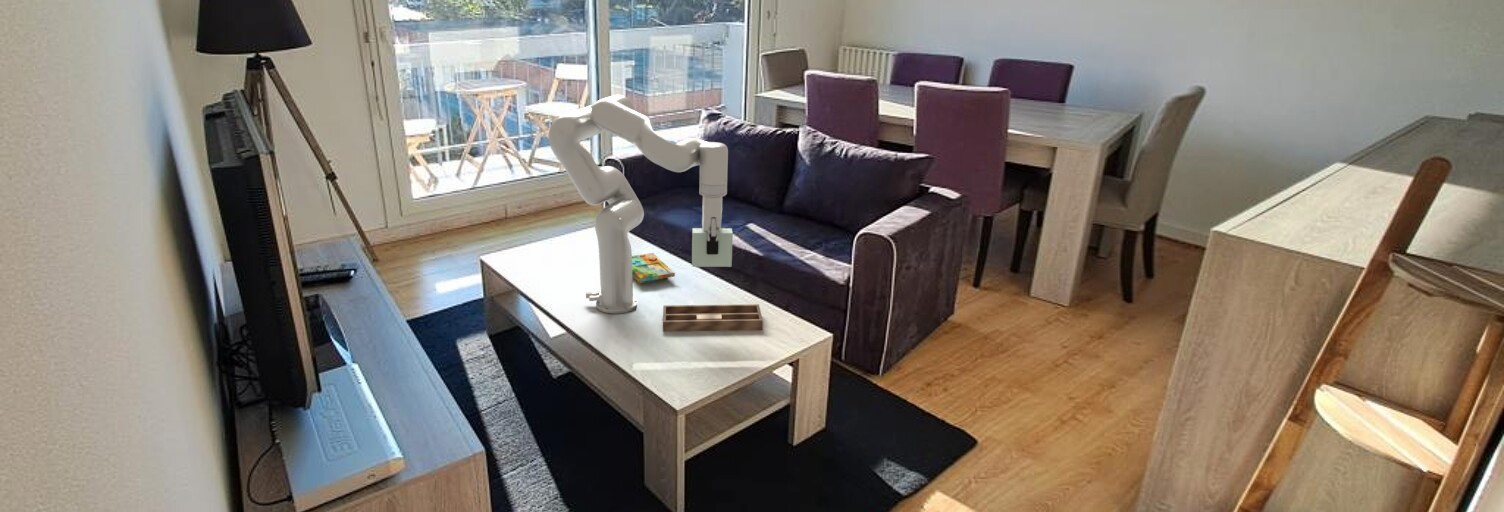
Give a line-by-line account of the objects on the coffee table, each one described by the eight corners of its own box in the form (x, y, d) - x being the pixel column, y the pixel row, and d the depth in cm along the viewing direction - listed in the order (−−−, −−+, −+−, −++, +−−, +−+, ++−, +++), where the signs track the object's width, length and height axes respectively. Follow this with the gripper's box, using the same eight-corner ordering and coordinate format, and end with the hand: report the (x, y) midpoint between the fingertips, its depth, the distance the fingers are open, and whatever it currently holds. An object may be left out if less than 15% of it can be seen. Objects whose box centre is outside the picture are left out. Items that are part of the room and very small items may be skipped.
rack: (663, 335, 219) (662, 321, 217) (663, 318, 229) (663, 305, 228) (762, 333, 222) (762, 320, 220) (758, 317, 232) (758, 304, 230)
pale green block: (692, 266, 218) (692, 233, 215) (692, 261, 222) (692, 228, 218) (731, 266, 219) (732, 233, 216) (730, 261, 223) (731, 228, 220)
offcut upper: (696, 323, 220) (696, 318, 219) (696, 319, 222) (696, 314, 222) (721, 323, 221) (721, 318, 220) (721, 319, 223) (721, 314, 223)
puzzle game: (652, 250, 269) (674, 270, 252) (652, 263, 270) (674, 283, 254) (619, 255, 264) (640, 276, 247) (620, 268, 265) (640, 289, 249)
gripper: (698, 179, 220) (697, 240, 227) (700, 197, 205) (699, 262, 211) (725, 180, 221) (723, 240, 227) (728, 197, 205) (727, 262, 212)
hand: (711, 250), depth 219 cm, fingers closed on pale green block, 4 cm apart
